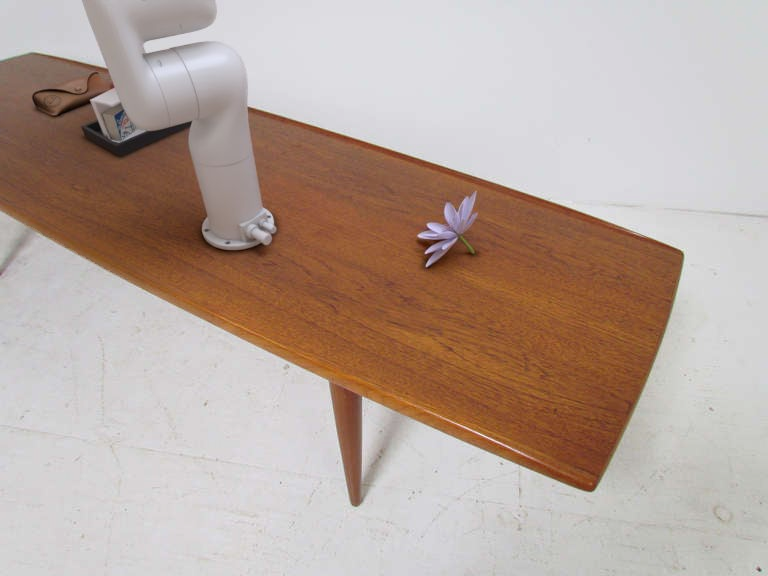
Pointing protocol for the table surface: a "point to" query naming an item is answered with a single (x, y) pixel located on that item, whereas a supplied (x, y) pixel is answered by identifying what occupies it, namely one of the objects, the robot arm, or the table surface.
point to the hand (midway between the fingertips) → (140, 100)
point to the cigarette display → (113, 117)
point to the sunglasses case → (70, 94)
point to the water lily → (450, 228)
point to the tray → (131, 144)
